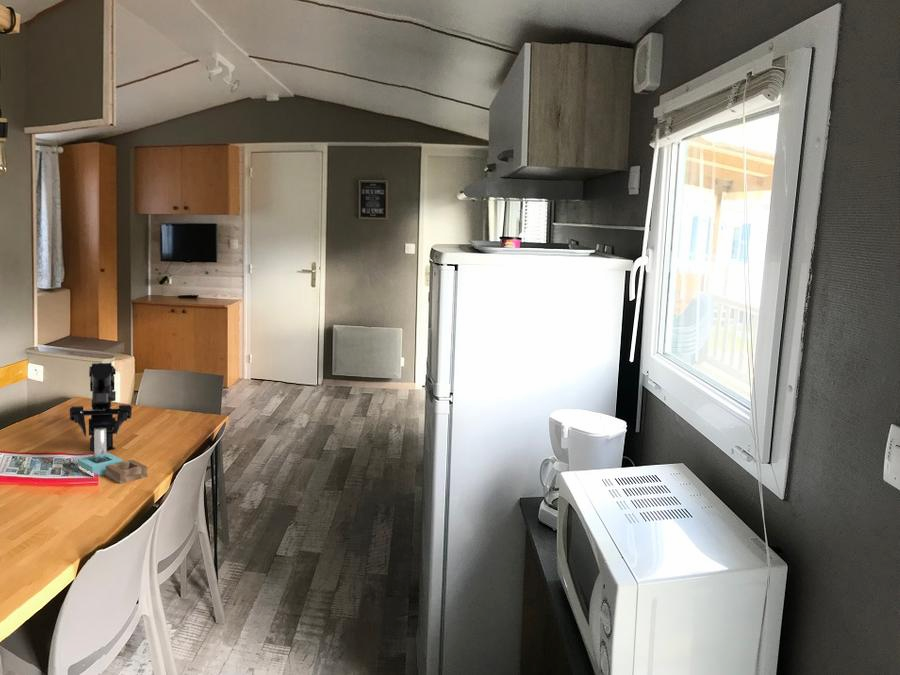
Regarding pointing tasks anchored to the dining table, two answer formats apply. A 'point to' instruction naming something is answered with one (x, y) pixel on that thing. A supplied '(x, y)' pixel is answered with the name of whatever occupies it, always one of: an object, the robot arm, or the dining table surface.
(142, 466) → the brown square socket block
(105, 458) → the steel rod
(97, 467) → the seat block
